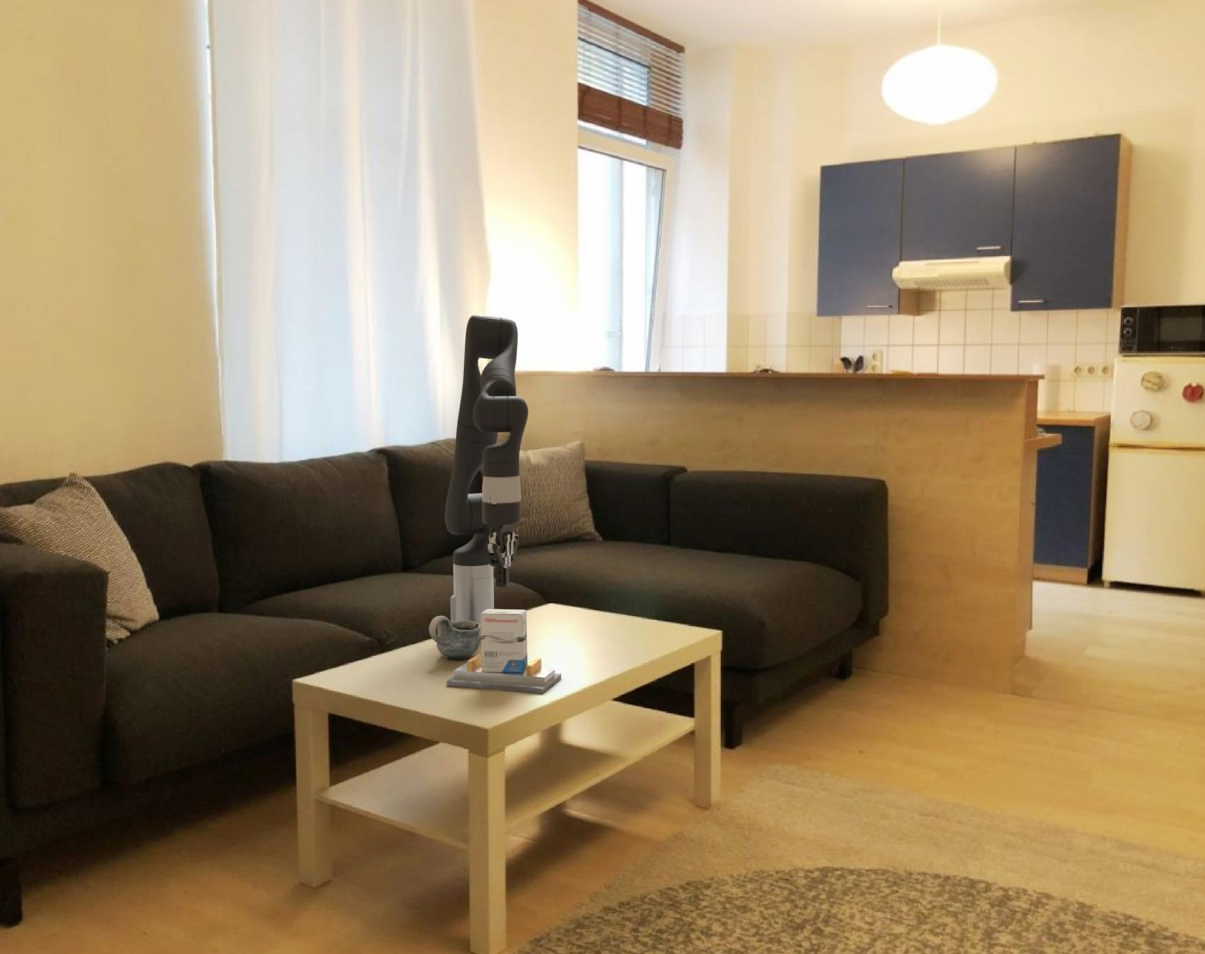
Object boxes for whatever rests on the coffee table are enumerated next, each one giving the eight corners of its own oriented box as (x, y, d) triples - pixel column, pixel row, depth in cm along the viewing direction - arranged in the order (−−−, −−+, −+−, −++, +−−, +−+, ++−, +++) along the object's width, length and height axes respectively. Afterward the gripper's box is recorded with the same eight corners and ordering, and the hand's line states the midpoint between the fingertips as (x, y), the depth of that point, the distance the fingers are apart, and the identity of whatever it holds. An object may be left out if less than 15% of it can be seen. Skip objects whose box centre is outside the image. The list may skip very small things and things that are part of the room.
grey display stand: (446, 685, 218) (446, 663, 218) (469, 671, 229) (468, 649, 228) (542, 693, 212) (542, 670, 212) (561, 678, 223) (561, 656, 222)
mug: (490, 654, 242) (489, 609, 241) (456, 668, 231) (455, 621, 230) (453, 649, 246) (452, 605, 245) (418, 662, 235) (417, 616, 234)
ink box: (528, 666, 222) (527, 608, 221) (523, 673, 218) (522, 614, 216) (486, 665, 224) (485, 607, 222) (480, 672, 219) (479, 613, 218)
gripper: (496, 494, 224) (497, 578, 226) (470, 502, 212) (471, 591, 213) (531, 495, 222) (532, 581, 224) (507, 503, 209) (507, 594, 211)
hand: (502, 586), depth 219 cm, fingers closed
